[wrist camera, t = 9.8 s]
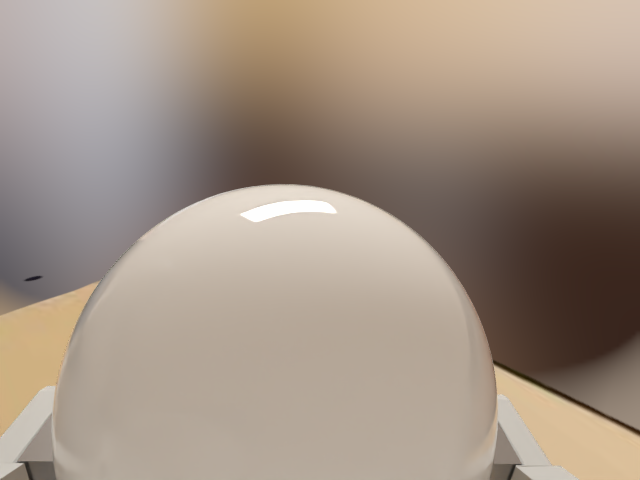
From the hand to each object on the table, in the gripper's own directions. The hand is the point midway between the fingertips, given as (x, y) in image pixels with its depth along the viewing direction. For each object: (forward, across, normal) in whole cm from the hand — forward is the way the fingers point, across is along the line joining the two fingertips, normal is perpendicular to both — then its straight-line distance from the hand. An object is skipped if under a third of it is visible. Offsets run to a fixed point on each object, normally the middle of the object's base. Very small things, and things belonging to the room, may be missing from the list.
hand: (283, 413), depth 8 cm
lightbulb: (-1, 0, -6) cm, 6 cm away
